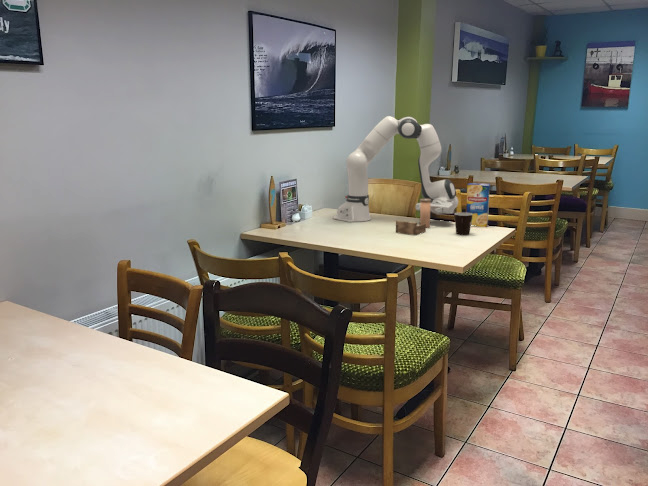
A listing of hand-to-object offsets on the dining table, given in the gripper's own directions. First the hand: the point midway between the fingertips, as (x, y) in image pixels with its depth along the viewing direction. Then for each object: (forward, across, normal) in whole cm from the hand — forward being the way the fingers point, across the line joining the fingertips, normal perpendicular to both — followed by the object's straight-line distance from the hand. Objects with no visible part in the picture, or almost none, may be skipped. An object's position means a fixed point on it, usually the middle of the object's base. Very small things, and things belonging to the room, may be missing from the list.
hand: (426, 209), depth 285 cm
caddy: (+15, 0, +9) cm, 18 cm away
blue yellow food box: (-19, +20, +10) cm, 29 cm away
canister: (+1, 0, +9) cm, 9 cm away
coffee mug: (+6, +23, +10) cm, 25 cm away
